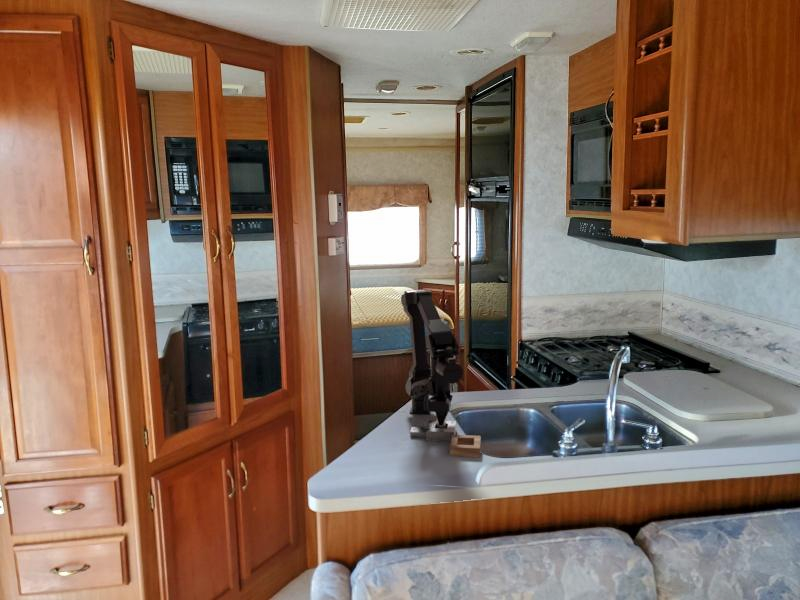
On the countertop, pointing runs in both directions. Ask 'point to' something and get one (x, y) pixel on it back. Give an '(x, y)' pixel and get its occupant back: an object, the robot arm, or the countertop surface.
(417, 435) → the block
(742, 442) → the countertop surface
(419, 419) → the countertop surface
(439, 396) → the robot arm
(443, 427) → the hitch pin
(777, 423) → the countertop surface
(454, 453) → the frame
